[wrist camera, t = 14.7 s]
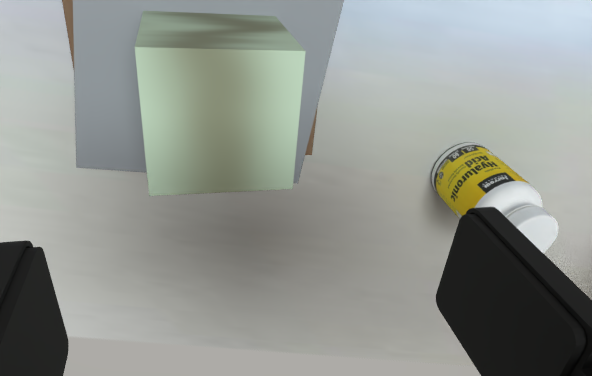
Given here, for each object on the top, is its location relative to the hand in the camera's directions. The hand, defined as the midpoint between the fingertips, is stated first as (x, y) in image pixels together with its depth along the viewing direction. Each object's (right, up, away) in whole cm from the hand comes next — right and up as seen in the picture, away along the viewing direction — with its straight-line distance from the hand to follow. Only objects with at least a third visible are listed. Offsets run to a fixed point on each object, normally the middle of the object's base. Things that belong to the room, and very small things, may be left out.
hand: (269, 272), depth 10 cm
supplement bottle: (+14, +4, +29) cm, 32 cm away
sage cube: (-4, +7, +12) cm, 15 cm away
